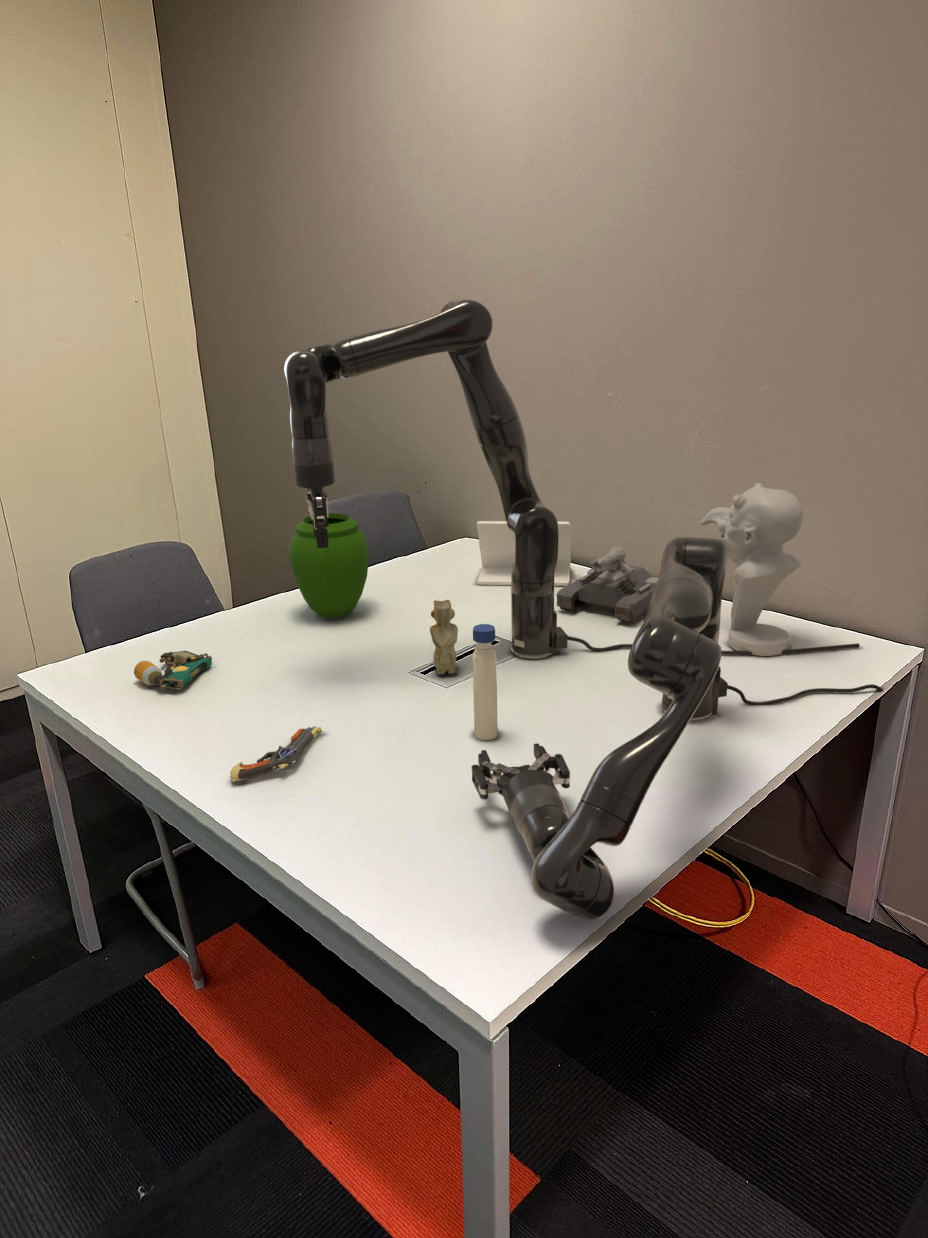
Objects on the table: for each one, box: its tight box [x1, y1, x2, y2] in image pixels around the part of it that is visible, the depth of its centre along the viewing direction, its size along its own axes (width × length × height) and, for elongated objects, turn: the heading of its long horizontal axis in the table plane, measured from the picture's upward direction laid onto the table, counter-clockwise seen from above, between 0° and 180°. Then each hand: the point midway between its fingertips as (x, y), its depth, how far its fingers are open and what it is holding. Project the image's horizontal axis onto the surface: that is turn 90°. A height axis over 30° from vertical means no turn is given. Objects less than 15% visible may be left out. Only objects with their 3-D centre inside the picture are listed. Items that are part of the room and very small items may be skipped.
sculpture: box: [429, 599, 459, 675], centre depth 177 cm, size 6×7×15 cm
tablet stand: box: [476, 520, 572, 587], centre depth 236 cm, size 18×25×17 cm
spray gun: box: [133, 650, 213, 690], centre depth 180 cm, size 4×17×15 cm
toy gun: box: [229, 725, 323, 782], centre depth 147 cm, size 3×19×10 cm
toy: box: [556, 546, 659, 624], centre depth 212 cm, size 25×20×15 cm
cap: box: [472, 623, 496, 644], centre depth 146 cm, size 4×4×2 cm
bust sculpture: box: [699, 482, 804, 657], centre depth 185 cm, size 16×24×35 cm
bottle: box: [472, 642, 499, 741], centre depth 149 cm, size 4×4×20 cm
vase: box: [288, 512, 370, 620], centre depth 209 cm, size 20×20×24 cm
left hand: (321, 542), depth 169 cm, fingers open, 8 cm apart
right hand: (509, 751), depth 135 cm, fingers open, 8 cm apart
